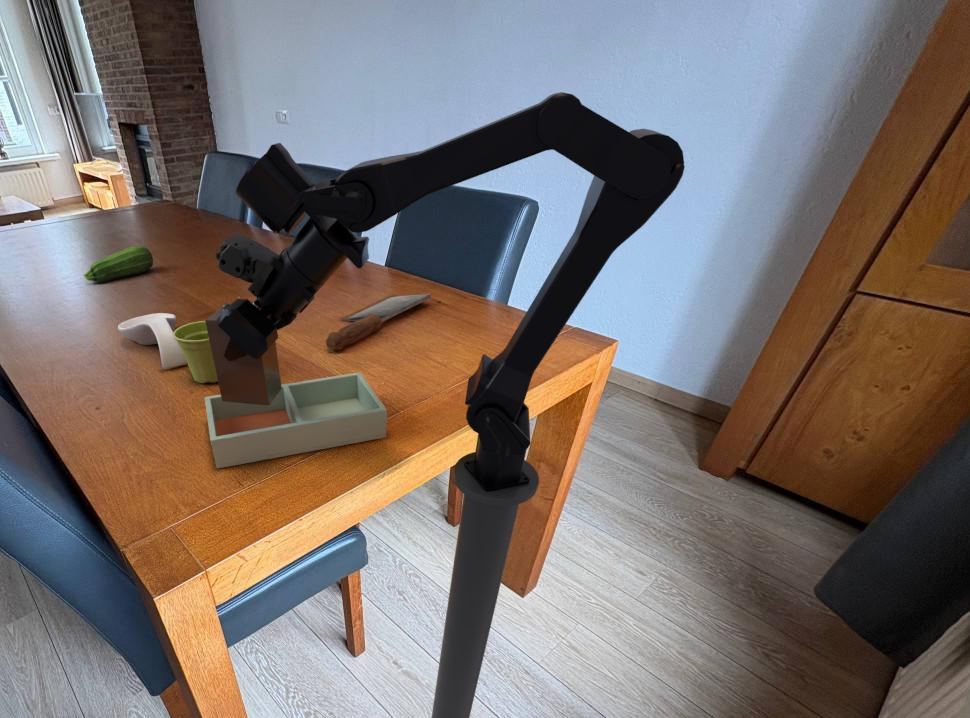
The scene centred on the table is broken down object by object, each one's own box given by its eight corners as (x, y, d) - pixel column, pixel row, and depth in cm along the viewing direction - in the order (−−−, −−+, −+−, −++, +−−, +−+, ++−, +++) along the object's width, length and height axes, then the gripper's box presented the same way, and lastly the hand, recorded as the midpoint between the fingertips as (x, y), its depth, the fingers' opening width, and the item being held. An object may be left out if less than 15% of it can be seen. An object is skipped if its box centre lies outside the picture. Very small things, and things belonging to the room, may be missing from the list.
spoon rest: (117, 337, 109) (106, 303, 105) (170, 324, 114) (162, 292, 109) (147, 376, 93) (136, 339, 89) (208, 360, 98) (200, 323, 93)
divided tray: (386, 437, 74) (387, 409, 71) (216, 468, 69) (210, 440, 66) (360, 397, 83) (360, 372, 80) (210, 423, 79) (204, 396, 76)
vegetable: (148, 239, 145) (78, 254, 135) (159, 265, 147) (91, 281, 137) (142, 248, 151) (74, 263, 141) (153, 272, 153) (87, 289, 143)
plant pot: (173, 379, 92) (161, 332, 86) (214, 361, 97) (205, 316, 92) (206, 393, 87) (195, 345, 81) (247, 373, 92) (239, 327, 87)
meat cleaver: (391, 296, 123) (391, 279, 120) (432, 305, 117) (433, 287, 114) (296, 343, 103) (294, 324, 101) (339, 357, 97) (338, 336, 95)
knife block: (236, 385, 74) (220, 296, 66) (281, 388, 72) (270, 298, 65) (222, 401, 70) (202, 309, 62) (269, 405, 69) (255, 311, 61)
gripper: (282, 195, 63) (219, 283, 73) (216, 228, 49) (148, 332, 59) (346, 262, 66) (277, 339, 76) (301, 312, 52) (223, 399, 61)
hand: (235, 350), depth 68 cm, fingers closed on knife block, 5 cm apart
